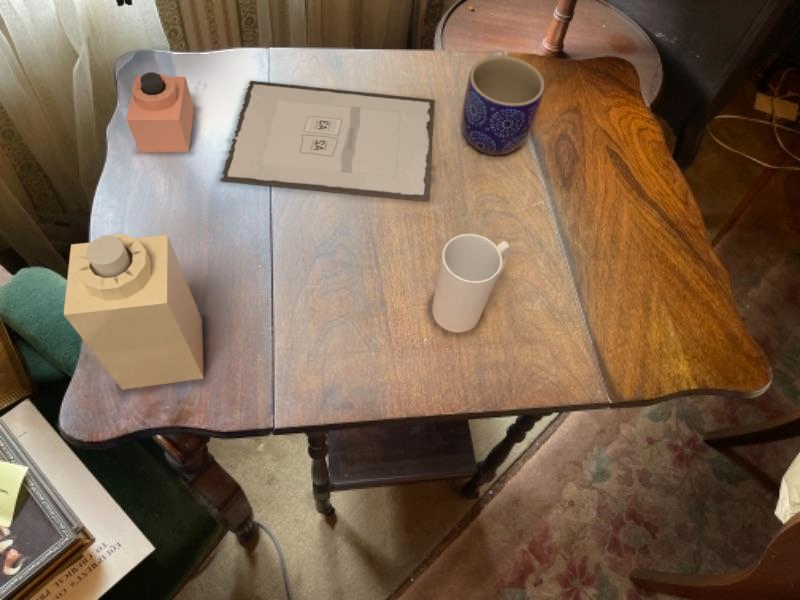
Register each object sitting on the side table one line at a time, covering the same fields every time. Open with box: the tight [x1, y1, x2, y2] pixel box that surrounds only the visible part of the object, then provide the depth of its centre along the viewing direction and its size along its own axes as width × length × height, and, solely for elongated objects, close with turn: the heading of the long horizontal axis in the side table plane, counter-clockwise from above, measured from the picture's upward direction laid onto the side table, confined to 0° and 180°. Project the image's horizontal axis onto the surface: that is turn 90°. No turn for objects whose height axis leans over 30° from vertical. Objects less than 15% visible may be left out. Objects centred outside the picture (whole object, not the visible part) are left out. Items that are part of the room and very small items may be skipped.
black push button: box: [140, 71, 164, 95], centre depth 84 cm, size 3×3×2 cm
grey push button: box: [86, 235, 130, 277], centre depth 55 cm, size 3×3×2 cm
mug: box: [431, 233, 511, 334], centre depth 73 cm, size 10×7×12 cm, turn 125°
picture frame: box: [219, 80, 435, 202], centre depth 92 cm, size 22×1×30 cm
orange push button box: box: [126, 73, 195, 153], centre depth 87 cm, size 7×9×8 cm
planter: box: [461, 55, 546, 156], centre depth 90 cm, size 11×11×11 cm
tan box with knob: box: [63, 233, 205, 391], centre depth 64 cm, size 9×8×19 cm
